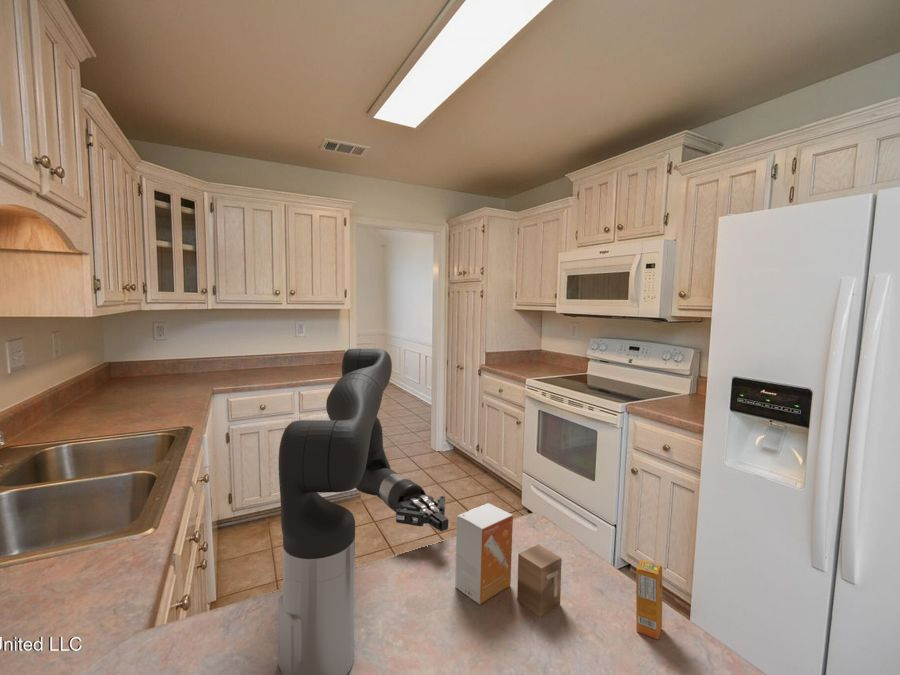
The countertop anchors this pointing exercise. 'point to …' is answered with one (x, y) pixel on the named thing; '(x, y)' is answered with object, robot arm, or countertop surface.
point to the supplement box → (649, 599)
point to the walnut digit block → (539, 579)
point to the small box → (483, 552)
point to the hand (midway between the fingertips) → (445, 525)
